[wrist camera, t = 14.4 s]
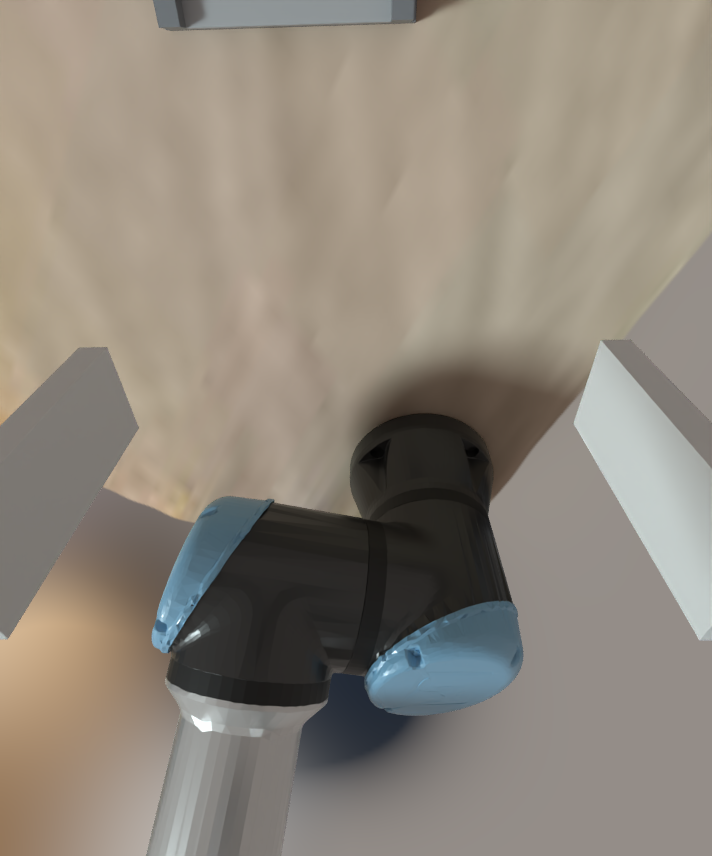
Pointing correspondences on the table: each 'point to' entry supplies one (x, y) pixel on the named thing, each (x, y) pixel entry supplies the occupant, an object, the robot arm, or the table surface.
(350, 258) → the table surface
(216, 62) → the table surface
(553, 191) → the table surface
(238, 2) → the pusher lane
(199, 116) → the table surface
